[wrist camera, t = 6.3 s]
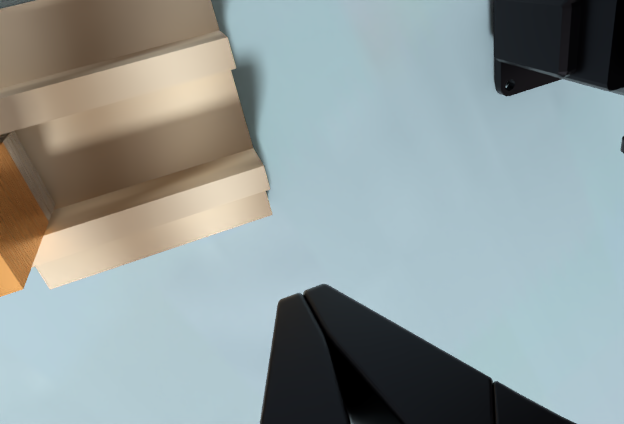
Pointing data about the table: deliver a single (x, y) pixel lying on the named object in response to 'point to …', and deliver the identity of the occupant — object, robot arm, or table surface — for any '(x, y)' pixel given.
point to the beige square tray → (127, 128)
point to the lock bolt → (20, 213)
